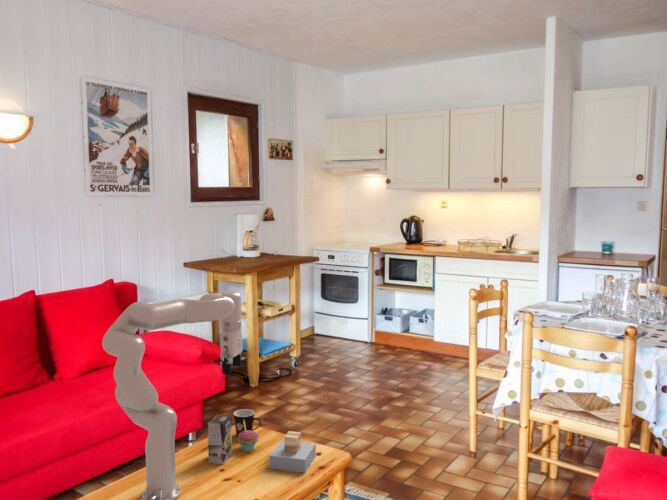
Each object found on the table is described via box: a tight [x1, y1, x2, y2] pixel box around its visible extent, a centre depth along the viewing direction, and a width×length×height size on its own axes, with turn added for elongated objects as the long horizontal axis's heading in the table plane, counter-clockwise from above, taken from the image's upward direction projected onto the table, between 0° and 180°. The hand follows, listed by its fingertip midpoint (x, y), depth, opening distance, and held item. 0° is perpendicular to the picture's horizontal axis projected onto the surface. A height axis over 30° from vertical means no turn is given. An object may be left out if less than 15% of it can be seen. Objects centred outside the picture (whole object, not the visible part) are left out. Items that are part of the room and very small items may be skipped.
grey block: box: [268, 439, 317, 474], centre depth 224 cm, size 14×14×5 cm
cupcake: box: [236, 419, 260, 452], centre depth 235 cm, size 9×8×12 cm
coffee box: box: [207, 413, 233, 465], centre depth 226 cm, size 9×6×16 cm
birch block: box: [283, 430, 302, 453], centre depth 223 cm, size 5×5×6 cm
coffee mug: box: [233, 408, 262, 437], centre depth 246 cm, size 12×9×10 cm
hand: (231, 369), depth 220 cm, fingers open, 9 cm apart
